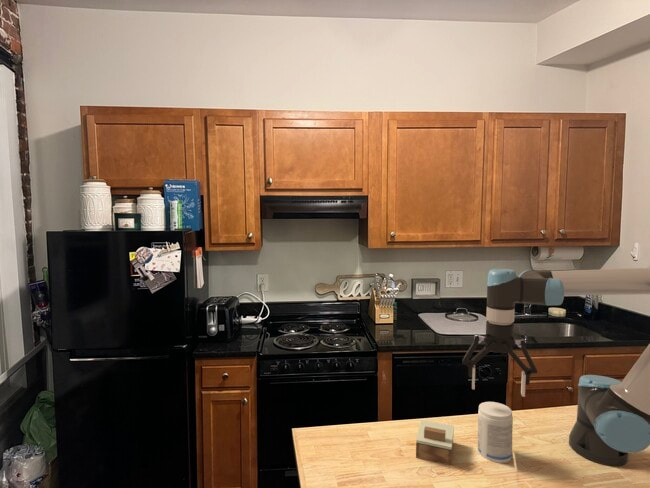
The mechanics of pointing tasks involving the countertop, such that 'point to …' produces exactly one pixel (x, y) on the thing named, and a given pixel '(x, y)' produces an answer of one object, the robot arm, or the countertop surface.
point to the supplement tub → (495, 432)
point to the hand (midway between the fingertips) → (497, 391)
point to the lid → (435, 434)
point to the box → (434, 453)
